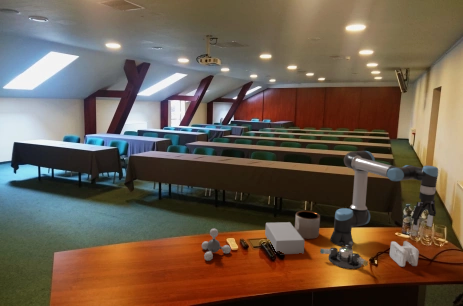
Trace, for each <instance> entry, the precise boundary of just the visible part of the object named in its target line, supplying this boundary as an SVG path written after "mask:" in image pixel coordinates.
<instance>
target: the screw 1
mask: <svg viewBox="0 0 463 306" xmlns="http://www.w3.org/2000/svg"><path fill="white" fill-rule="evenodd" d="M353 246H354V241H353V242H352V241H350V242H349V244H345V246H344V247H347V248H350V249H352V250H353Z"/></svg>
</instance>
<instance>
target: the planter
mask: <svg viewBox="0 0 463 306" xmlns="http://www.w3.org/2000/svg"><path fill="white" fill-rule="evenodd" d="M294 220H295V221H294V228H295V229H296V230H297V232H298V233H299V234H300V235H301V237H302V238H303V239H304V240H305V239H306V240H313V239H316V238H318V237H319V235H320V222H321V215H320V214H319V213H317V212H314V211H311V210H300V211H297V212H296V213H295V219H294Z"/></svg>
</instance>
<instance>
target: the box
mask: <svg viewBox="0 0 463 306" xmlns="http://www.w3.org/2000/svg"><path fill="white" fill-rule="evenodd" d="M264 232H265V233H264V235H265V237H266V239H267V240H268V239H269V240H270V241H271V243H272V245H273V247H274V249H275V251H276V252H277V251H280V252H282V253H284V254H283V255H293V254H295V255H297V254H299V253H302V254H305V239H304V238H302V237H301V235H300V234H299V233H298V232H297V230H296V229H295V226H293V224H292V223H291V222H290V221H288V222H266V223H265V231H264Z"/></svg>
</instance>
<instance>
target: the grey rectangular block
mask: <svg viewBox="0 0 463 306" xmlns="http://www.w3.org/2000/svg"><path fill="white" fill-rule="evenodd" d="M338 249H339V248H337V247H330V248H320V254H322V255H323V254H324V255H325V254H326V255H329V254H330V259H333V260H336V259H337V252H338Z"/></svg>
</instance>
